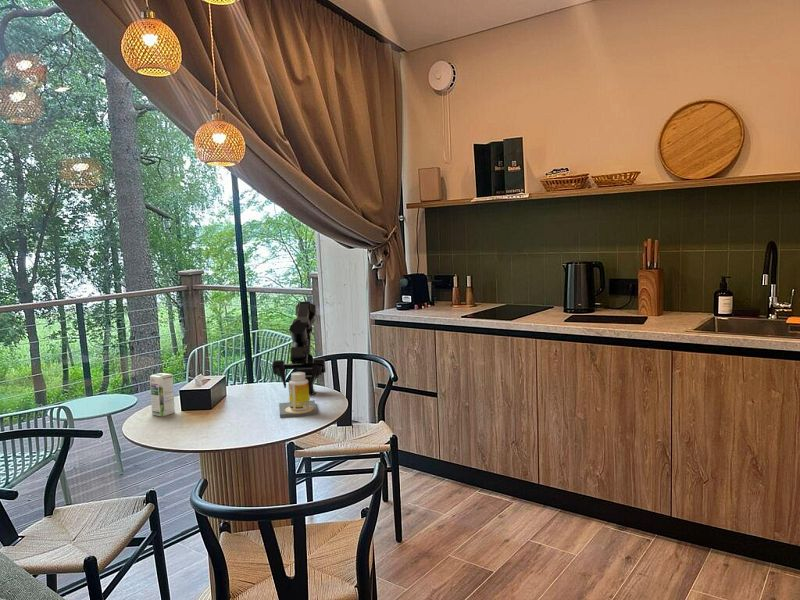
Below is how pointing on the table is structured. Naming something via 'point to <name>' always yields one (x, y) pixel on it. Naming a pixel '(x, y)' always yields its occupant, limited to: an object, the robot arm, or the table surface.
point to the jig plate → (287, 412)
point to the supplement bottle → (298, 392)
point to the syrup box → (162, 394)
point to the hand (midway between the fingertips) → (298, 387)
